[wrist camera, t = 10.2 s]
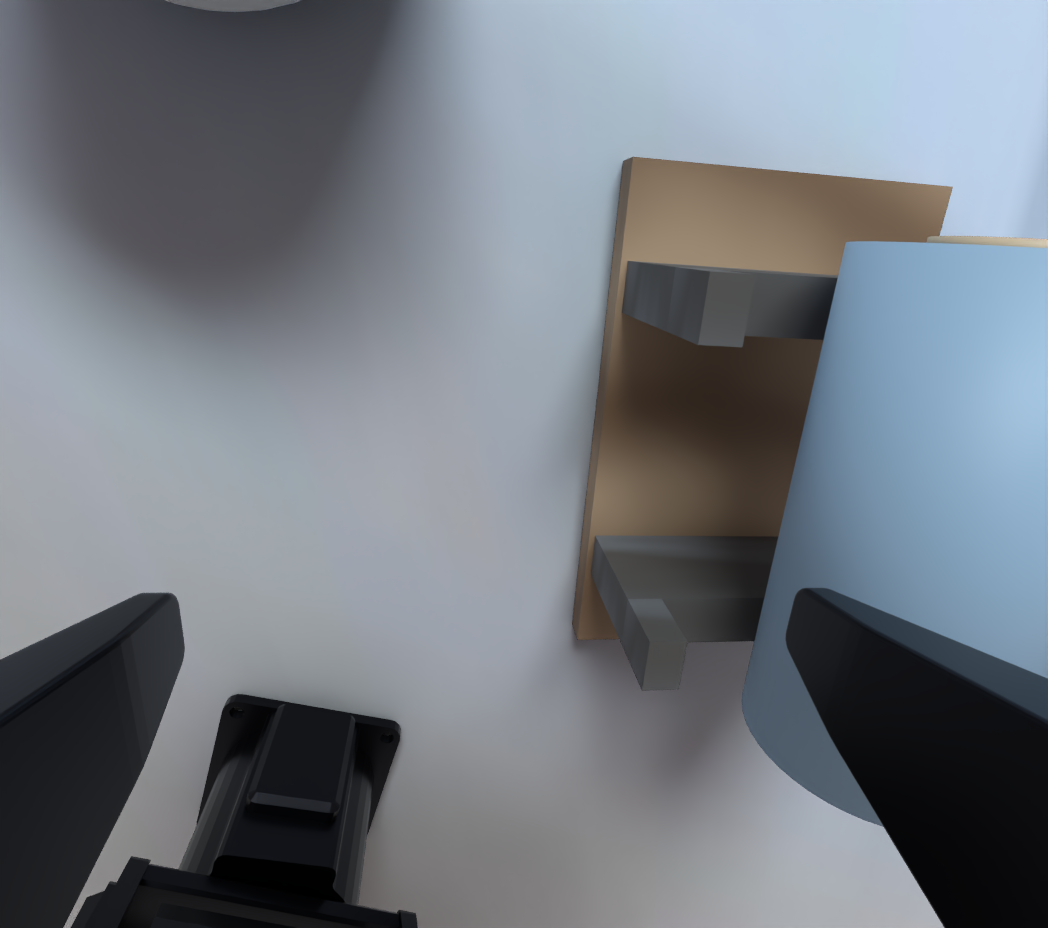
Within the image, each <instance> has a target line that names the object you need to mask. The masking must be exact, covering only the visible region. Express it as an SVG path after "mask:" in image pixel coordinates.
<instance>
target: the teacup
mask: <svg viewBox="0 0 1048 928" xmlns="http://www.w3.org/2000/svg"><path fill="white" fill-rule="evenodd" d="M165 1H168V2H171V3H174V4H178V5H183V6H187V7H192V8H197V9H202V10H211V11H223V12H245V11H260V10H267V9H271V8H275V7H280V6H284V5H288V4H292V3H296V2H299V1H301V0H165Z"/></svg>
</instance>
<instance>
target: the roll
mask: <svg viewBox="0 0 1048 928" xmlns="http://www.w3.org/2000/svg"><path fill="white" fill-rule="evenodd" d="M802 588H828V589H831V590H833V591H836V592H838V593H840V594H843V595H845V596H848V597H850V598H853V599H855V600H858V601H860V602H862V603H865V604H867V605H870V606H872V607H875V608H877V609H879V610H882V611H884V612H887V613H889V614H892V615H894V616H897V617H899V618H901V619H904V620H906V621H909V622H911V623H914V624H916V625H919V626H921V627H923V628H926V629H928V630H931V631H933V632H936V633H938V634H941V635H943V636H945V637H948V638H950V639H953V640H955V641H958V642H960V643H962V644H965V645H967V646H970V647H972V648H975V649H977V650H980V651H982V652H984V653H987V654H989V655H992V656H994V657H997V658H999V659H1002V660H1004V661H1006V662H1009V663H1011V664H1014V665H1016V666H1019V667H1021V668H1024V669H1026V670H1028V671H1031V672H1033V673H1036V674H1038V675H1041V676H1043V677H1046V678H1048V239H1033V238H1010V237H980V236H931V237H928V238H927V242H926V243H920V242H879V241H856V242H846V244H845V248H844V253H843V257H842V261H841V266H840V270H839V275H838V279H837V283H836V288H835V292H834V296H833V301H832V305H831V309H830V314H829V318H828V322H827V327H826V331H825V336H824V340H823V344H822V349H821V353H820V357H819V362H818V366H817V370H816V375H815V379H814V384H813V388H812V392H811V397H810V401H809V405H808V410H807V414H806V418H805V423H804V427H803V432H802V436H801V440H800V445H799V449H798V453H797V458H796V462H795V466H794V471H793V475H792V479H791V484H790V488H789V493H788V497H787V501H786V506H785V510H784V514H783V519H782V523H781V527H780V532H779V536H778V541H777V545H776V549H775V554H774V558H773V562H772V567H771V571H770V575H769V580H768V584H767V588H766V593H765V597H764V602H763V606H762V610H761V615H760V619H759V623H758V628H757V632H756V636H755V641H754V645H753V650H752V654H751V658H750V663H749V667H748V671H747V676H746V680H745V684H744V689H743V694H742V709H743V714H744V717H745V721H746V723H747V725H748V727H749V729H750V732H751V733H752V735H753V736H754V738H755V740H756V741H757V743H758V744H759V745H760V747H761V748H762V749H763V750H764V752H765V753H766V754H767V755H768V757H769V758H770V759H771V760H772V761H773V762H774V763H775V764H776V765H777V766H778V767H779V768H780V769H781V770H783V771H784V772H785V773H786V774H787V775H788V776H790V777H791V778H792V779H793V780H794V781H796V782H797V783H799V784H800V785H801V786H803V787H804V788H805V789H807V790H808V791H809V792H811V793H813V794H814V795H816V796H818V797H819V798H821V799H822V800H824V801H826V802H827V803H829V804H831V805H833V806H835V807H837V808H839V809H841V810H843V811H845V812H847V813H849V814H851V815H854V816H856V817H858V818H861V819H863V820H865V821H868V822H871V823H874V824H877V825H880V826H883V825H882V823H881V822H880V820H879V818H878V817H877V815H876V813H875V812H874V810H873V808H872V807H871V805H870V803H869V802H868V800H867V798H866V797H865V795H864V793H863V792H862V790H861V788H860V787H859V785H858V783H857V782H856V780H855V779H854V777H853V775H852V774H851V772H850V770H849V769H848V767H847V765H846V764H845V762H844V760H843V759H842V757H841V755H840V754H839V752H838V750H837V748H836V747H835V745H834V743H833V741H832V740H831V738H830V736H829V734H828V732H827V730H826V728H825V726H824V724H823V722H822V720H821V718H820V716H819V714H818V712H817V710H816V708H815V706H814V704H813V702H812V700H811V697H810V695H809V693H808V691H807V689H806V687H805V685H804V683H803V681H802V679H801V677H800V674H799V672H798V670H797V668H796V666H795V664H794V662H793V660H792V658H791V656H790V654H789V652H788V649H787V645H786V639H785V637H786V629H787V625H788V621H789V617H790V613H791V609H792V605H793V601H794V598H795V595H796V593H797V592H798V591H799V590H800V589H802Z"/></svg>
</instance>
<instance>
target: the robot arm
mask: <svg viewBox="0 0 1048 928" xmlns="http://www.w3.org/2000/svg"><path fill="white" fill-rule="evenodd" d="M785 639H786V645H787V649H788V652H789V654H790V656H791V658H792V660H793V662H794V664H795V666H796V668H797V670H798V672H799V674H800V677H801V679H802V681H803V683H804V685H805V687H806V689H807V691H808V693H809V695H810V697H811V700H812V702H813V704H814V706H815V708H816V710H817V712H818V714H819V716H820V718H821V720H822V722H823V724H824V726H825V728H826V730H827V732H828V734H829V736H830V738H831V740H832V741H833V743H834V745H835V747H836V748H837V750H838V752H839V754H840V755H841V757H842V759H843V760H844V762H845V764H846V765H847V767H848V769H849V770H850V772H851V774H852V775H853V777H854V779H855V780H856V782H857V783H858V785H859V787H860V788H861V790H862V792H863V793H864V795H865V797H866V798H867V800H868V802H869V803H870V805H871V807H872V808H873V810H874V812H875V813H876V815H877V817H878V818H879V820H880V822H881V823H882V825H883V827H884V828H885V830H886V832H887V833H888V835H889V837H890V838H891V840H892V842H893V843H894V845H895V846H896V848H897V850H898V851H899V853H900V855H901V856H902V858H903V860H904V861H905V863H906V865H907V866H908V868H909V870H910V871H911V873H912V875H913V876H914V878H915V880H916V881H917V883H918V885H919V886H920V888H921V890H922V891H923V893H924V895H925V896H926V898H927V900H928V901H929V903H930V904H931V906H932V908H933V909H934V911H935V913H936V914H937V916H938V918H939V919H940V921H941V923H942V924H943V926H944V928H1048V678H1046V677H1043V676H1041V675H1038V674H1036V673H1033V672H1031V671H1028V670H1026V669H1024V668H1021V667H1019V666H1016V665H1014V664H1011V663H1009V662H1006V661H1004V660H1002V659H999V658H997V657H994V656H992V655H989V654H987V653H984V652H982V651H980V650H977V649H975V648H972V647H970V646H967V645H965V644H962V643H960V642H958V641H955V640H953V639H950V638H948V637H945V636H943V635H941V634H938V633H936V632H933V631H931V630H928V629H926V628H923V627H921V626H919V625H916V624H914V623H911V622H909V621H906V620H904V619H901V618H899V617H897V616H894V615H892V614H889V613H887V612H884V611H882V610H879V609H877V608H875V607H872V606H870V605H867V604H865V603H862V602H860V601H858V600H855V599H853V598H850V597H848V596H845V595H843V594H840V593H838V592H836V591H833V590H831V589H828V588H802V589H800V590H799V591H798V592H797V593H796V595H795V598H794V601H793V605H792V609H791V613H790V617H789V621H788V625H787V629H786V637H785ZM184 651H185V645H184V637H183V630H182V623H181V616H180V609H179V603H178V600H177V598H176V596H175V595H173V594H172V593H140V594H138V595H136V596H133V597H131V598H129V599H127V600H125V601H123V602H121V603H119V604H117V605H114V606H112V607H110V608H108V609H106V610H104V611H102V612H100V613H98V614H96V615H93V616H91V617H89V618H87V619H85V620H83V621H81V622H79V623H77V624H74V625H72V626H70V627H68V628H66V629H64V630H62V631H60V632H58V633H55V634H53V635H51V636H49V637H47V638H45V639H43V640H41V641H39V642H37V643H34V644H32V645H30V646H28V647H26V648H24V649H22V650H20V651H18V652H15V653H13V654H11V655H9V656H7V657H5V658H3V659H1V660H0V928H63V927H64V925H65V923H66V921H67V919H68V917H69V915H70V913H71V911H72V909H73V907H74V905H75V903H76V901H77V899H78V897H79V895H80V893H81V891H82V889H83V887H84V885H85V883H86V881H87V879H88V877H89V875H90V873H91V871H92V869H93V867H94V865H95V863H96V861H97V859H98V857H99V855H100V853H101V851H102V849H103V847H104V845H105V843H106V841H107V839H108V837H109V835H110V833H111V831H112V830H113V828H114V826H115V824H116V822H117V820H118V818H119V816H120V814H121V812H122V810H123V808H124V806H125V804H126V802H127V800H128V798H129V796H130V794H131V792H132V790H133V788H134V786H135V784H136V781H137V779H138V777H139V775H140V773H141V771H142V769H143V767H144V764H145V762H146V759H147V757H148V754H149V752H150V749H151V746H152V744H153V741H154V738H155V736H156V733H157V730H158V727H159V725H160V722H161V719H162V717H163V714H164V711H165V708H166V706H167V703H168V700H169V698H170V695H171V692H172V690H173V687H174V684H175V681H176V679H177V676H178V673H179V671H180V668H181V665H182V662H183V658H184ZM234 707H239V708H241V709H242V710H243V711H238V710H236V709H235V708H234ZM400 730H401V728H400V726H399V724H398V723H396V722H395V721H392V720H387V719H381V718H375V717H370V716H364V715H358V714H352V713H347V712H341V711H335V710H330V709H324V708H318V707H312V706H307V705H301V704H295V703H289V702H284V701H278V700H272V699H266V698H261V697H255V696H249V695H243V694H236V695H233V696H231V697H230V698H229V699H228V700H227V702H226V704H225V706H224V708H223V710H222V715H221V719H220V723H219V728H218V732H217V736H216V741H215V745H214V750H213V754H212V758H211V763H210V767H209V771H208V776H207V780H206V784H205V789H204V793H203V797H202V802H201V806H200V811H199V815H198V819H197V826H196V829H195V831H194V833H193V836H192V838H191V841H190V843H189V845H188V848H187V850H186V853H185V855H184V857H183V860H182V862H181V865H180V867H179V869H173V868H168V867H163V866H158V865H153V864H149V863H150V860H148V859H143V858H138V857H133V856H131V858H130V859H129V861H128V863H127V865H126V867H125V869H124V870H123V872H122V874H121V876H120V878H119V880H118V881H117V883H116V882H111V881H110V882H109V884H108V886H107V887H106V889H105V891H103V892H100V893H98V894H95V895H92V896H89V897H87V898H86V900H85V902H84V904H83V906H82V908H81V910H80V911H79V913H78V915H77V917H76V919H75V921H74V923H73V924H72V926H71V928H418V926H417V918H416V913H412V912H407V911H402V910H399V911H398V912H397V913H394V912H389V911H384V910H379V909H374V908H369V907H364V906H359V905H358V902H359V894H360V886H361V878H362V870H363V862H364V854H365V846H366V838H367V834H368V832H369V829H370V826H371V823H372V820H373V817H374V814H375V811H376V808H377V805H378V802H379V799H380V796H381V793H382V791H383V788H384V785H385V782H386V779H387V776H388V773H389V770H390V767H391V764H392V761H393V758H394V755H395V752H396V749H397V747H398V744H399V741H400ZM384 733H390V734H391V735H384Z"/></svg>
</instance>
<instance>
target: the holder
mask: <svg viewBox="0 0 1048 928" xmlns="http://www.w3.org/2000/svg"><path fill="white" fill-rule="evenodd" d="M952 188H953V187H948V186H937V185H926V184H916V183H905V182H895V181H884V180H873V179H863V178H852V177H841V176H831V175H820V174H810V173H799V172H788V171H778V170H767V169H756V168H746V167H735V166H725V165H714V164H703V163H693V162H682V161H671V160H661V159H650V158H640V157H632V158H629V159H627V160H624V161H623V168H622V177H621V186H620V196H619V205H618V214H617V223H616V232H615V241H614V250H613V259H612V268H611V277H610V286H609V295H608V304H607V313H606V322H605V331H604V340H603V349H602V358H601V368H600V377H599V386H598V395H597V404H596V413H595V422H594V431H593V440H592V449H591V458H590V467H589V476H588V485H587V494H586V503H585V512H584V521H583V530H582V540H581V549H580V558H579V567H578V576H577V585H576V594H575V603H574V612H573V621H572V625H573V628H574V631H575V634H576V637H577V640H592V639H620V641H621V644H622V646H623V648H624V651H625V653H626V655H627V657H628V660H629V662H630V664H631V666H632V669H633V671H634V673H635V676H636V678H637V680H638V682H639V685H640V687H641V689H642V690H674V689H679V685H680V679H681V674H682V669H683V663H684V658H685V652H686V647H687V642H726V641H755V636H756V632H757V628H758V623H759V619H760V615H761V610H762V606H763V602H764V597H765V593H766V588H767V584H768V580H769V575H770V571H771V567H772V562H773V558H774V554H775V549H776V545H777V541H778V536H779V532H780V527H781V523H782V519H783V514H784V510H785V506H786V501H787V497H788V493H789V488H790V484H791V479H792V475H793V471H794V466H795V462H796V458H797V453H798V449H799V445H800V440H801V436H802V432H803V427H804V423H805V418H806V414H807V410H808V405H809V401H810V397H811V392H812V388H813V384H814V379H815V375H816V370H817V366H818V362H819V357H820V353H821V349H822V344H823V340H824V336H825V331H826V327H827V322H828V318H829V314H830V309H831V305H832V301H833V296H834V292H835V288H836V283H837V279H838V275H839V270H840V266H841V261H842V257H843V253H844V248H845V244H846V242H856V241H879V242H920V243H926V242H927V238H928V237H931V236H939V235H940V231H941V228H942V224H943V221H944V217H945V213H946V210H947V206H948V203H949V199H950V195H951V192H952Z"/></svg>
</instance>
